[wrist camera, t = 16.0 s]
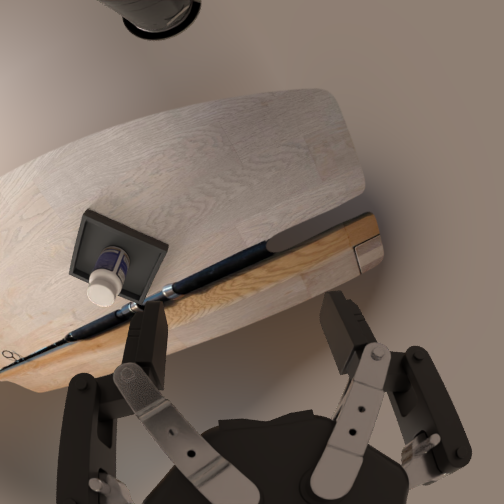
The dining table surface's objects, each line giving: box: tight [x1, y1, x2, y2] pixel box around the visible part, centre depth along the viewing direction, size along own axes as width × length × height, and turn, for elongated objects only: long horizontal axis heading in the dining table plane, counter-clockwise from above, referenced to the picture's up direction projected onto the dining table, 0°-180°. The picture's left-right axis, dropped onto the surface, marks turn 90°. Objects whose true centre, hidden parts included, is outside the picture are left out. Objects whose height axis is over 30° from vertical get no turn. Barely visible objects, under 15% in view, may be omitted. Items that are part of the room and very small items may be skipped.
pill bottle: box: [87, 246, 130, 307], centre depth 43 cm, size 6×6×10 cm
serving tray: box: [69, 209, 168, 305], centre depth 47 cm, size 16×14×2 cm
